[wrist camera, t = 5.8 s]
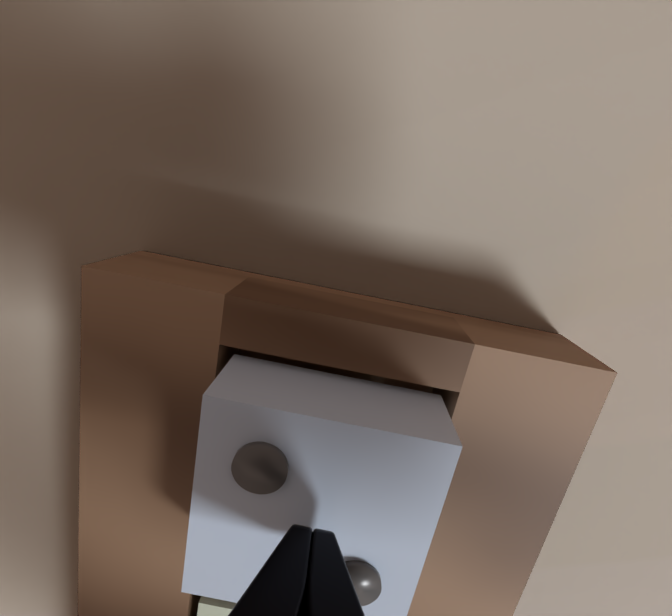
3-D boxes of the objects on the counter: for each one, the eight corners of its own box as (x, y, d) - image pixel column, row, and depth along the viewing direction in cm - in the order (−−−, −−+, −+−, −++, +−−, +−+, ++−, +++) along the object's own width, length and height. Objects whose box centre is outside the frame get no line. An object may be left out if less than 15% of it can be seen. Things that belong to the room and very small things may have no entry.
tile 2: (392, 556, 11) (401, 642, 9) (213, 520, 11) (178, 598, 9) (440, 395, 9) (465, 451, 7) (234, 353, 9) (199, 398, 7)
